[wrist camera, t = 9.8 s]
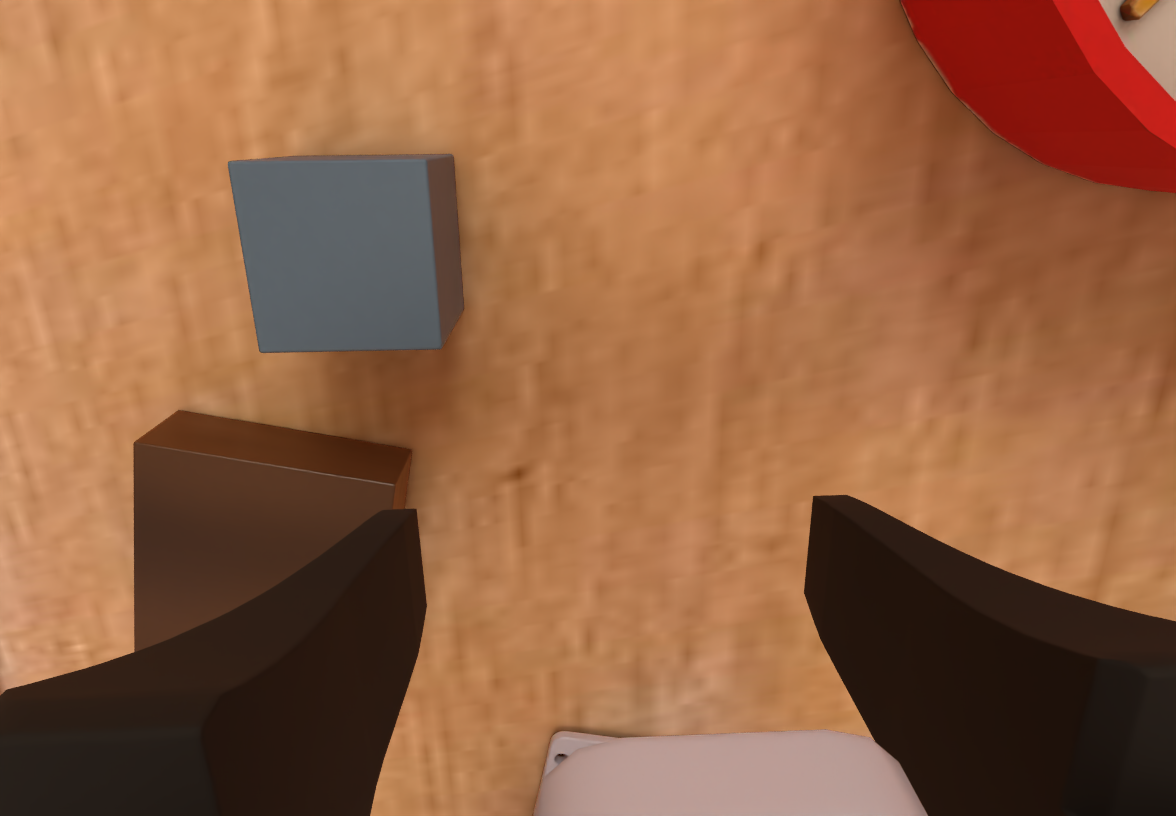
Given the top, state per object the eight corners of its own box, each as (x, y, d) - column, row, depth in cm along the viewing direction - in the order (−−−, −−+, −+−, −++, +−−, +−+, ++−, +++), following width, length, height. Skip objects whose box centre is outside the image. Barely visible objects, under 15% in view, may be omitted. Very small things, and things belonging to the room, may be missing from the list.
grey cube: (464, 309, 22) (442, 349, 18) (315, 312, 22) (258, 353, 18) (453, 153, 21) (426, 158, 16) (293, 155, 20) (226, 161, 16)
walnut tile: (388, 635, 26) (370, 687, 24) (174, 604, 25) (133, 654, 23) (412, 448, 24) (395, 484, 21) (178, 409, 23) (132, 442, 20)
